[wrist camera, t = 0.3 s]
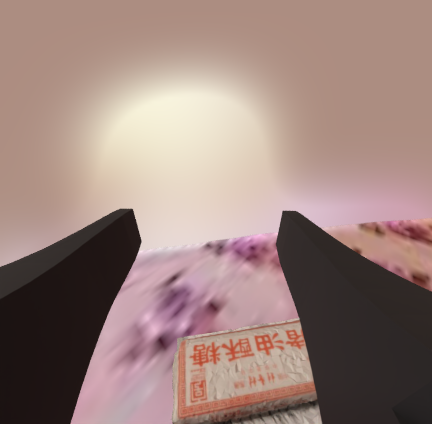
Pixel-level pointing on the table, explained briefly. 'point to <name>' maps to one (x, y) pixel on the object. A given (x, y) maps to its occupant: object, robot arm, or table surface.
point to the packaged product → (245, 377)
